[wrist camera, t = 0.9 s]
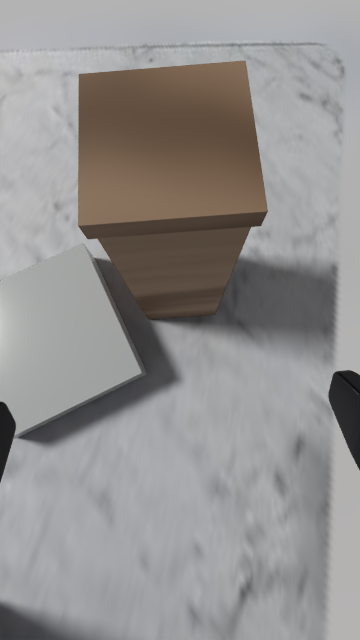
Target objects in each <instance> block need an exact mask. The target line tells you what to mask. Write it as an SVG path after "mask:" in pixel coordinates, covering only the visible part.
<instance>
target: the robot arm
mask: <svg viewBox="0 0 360 640" xmlns="http://www.w3.org/2000/svg"><path fill="white" fill-rule="evenodd" d="M329 401H330V404H331V407H332V409H333V411H334V414H335V416H336V419H337V421H338V423H339V426H340V428H341V431H342V433H343V436H344V438H345V440H346V443H347V445H348V448H349V450H350V452H351V454H352V456H353V458H354V460H355V462H356V464H357V466H358V468H359V470H360V375H359V374H357V373H355V372H353V371H350V370H346V371H337V372H335V373H334V374H333V377H332V381H331V385H330V389H329ZM15 431H16V422H15V419H14V418H13V416H12V414H11V412H10V410H9V408H8V406H7V405H6V403H4V402H2V401H0V482H1V479H2V476H3V472H4V469H5V465H6V462H7V459H8V455H9V452H10V448H11V445H12V441H13V438H14V434H15Z"/></svg>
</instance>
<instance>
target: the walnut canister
mask: <svg viewBox="0 0 360 640" xmlns="http://www.w3.org/2000/svg"><path fill="white" fill-rule="evenodd" d="M267 212H268V210H267V203H266V196H265V189H264V182H263V176H262V169H261V162H260V155H259V148H258V142H257V135H256V128H255V121H254V114H253V108H252V101H251V94H250V87H249V80H248V74H247V67H246V61H234V62H222V63H210V64H197V65H185V66H173V67H161V68H148V69H136V70H124V71H111V72H99V73H87V74H79V167H78V226H79V228H80V229H81V230H82V232H83V233H84V235H85V236H86V238H87V239H97V238H98V240H99V242H100V243H101V245H102V246H103V248H104V250H105V251H106V253H107V254H108V256H109V258H110V259H111V261H112V262H113V264H114V266H115V267H116V269H117V270H118V272H119V274H120V275H121V277H122V278H123V280H124V282H125V283H126V285H127V286H128V288H129V290H130V291H131V293H132V294H133V296H134V298H135V299H136V301H137V302H138V304H139V305H140V307H141V309H142V310H143V312H144V313H145V315H146V317H147V318H148V319H160V318H174V317H187V316H201V315H215V313H216V311H217V308H218V306H219V303H220V301H221V298H222V296H223V294H224V291H225V289H226V286H227V284H228V281H229V279H230V277H231V274H232V272H233V269H234V267H235V264H236V262H237V260H238V257H239V255H240V252H241V250H242V247H243V245H244V243H245V240H246V238H247V235H248V233H249V231H250V228H251V227H255V226H261V225H262V222H263V220H264V218H265V216H266V214H267Z"/></svg>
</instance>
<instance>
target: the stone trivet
mask: <svg viewBox="0 0 360 640" xmlns="http://www.w3.org/2000/svg"><path fill="white" fill-rule="evenodd" d="M146 374H147V372H146V370H145V368H144V366H143V364H142V361H141V359H140V357H139V355H138V353H137V350H136V348H135V346H134V344H133V342H132V339H131V337H130V335H129V333H128V331H127V328H126V326H125V324H124V322H123V320H122V317H121V315H120V313H119V311H118V309H117V306H116V304H115V302H114V300H113V298H112V296H111V293H110V291H109V289H108V287H107V285H106V282H105V280H104V278H103V276H102V274H101V271H100V269H99V267H98V265H97V263H96V260H95V258H94V257H93V255H92V254H91V253H90V251H89V250H88V249H87V247H86V246H85V245H84V243H82V244H80V245H78V246H75V247H73V248H71V249H69V250H66V251H64V252H62V253H60V254H58V255H55V256H53V257H51V258H49V259H46V260H44V261H42V262H40V263H38V264H35V265H33V266H31V267H29V268H26V269H24V270H22V271H20V272H18V273H15V274H13V275H11V276H9V277H6V278H4V279H2V280H0V401H2V402H4V403H6V405H7V406H8V408H9V410H10V412H11V414H12V416H13V418H14V419H15V422H16V431H15V434H14V438H13V439H16V438H18V437H20V436H22V435H24V434H26V433H28V432H30V431H32V430H34V429H36V428H38V427H40V426H42V425H45V424H47V423H49V422H51V421H53V420H55V419H57V418H59V417H61V416H63V415H65V414H67V413H69V412H71V411H73V410H75V409H77V408H79V407H81V406H83V405H85V404H87V403H89V402H91V401H93V400H95V399H97V398H99V397H101V396H103V395H105V394H107V393H109V392H112V391H114V390H116V389H118V388H120V387H122V386H124V385H126V384H128V383H130V382H132V381H134V380H136V379H138V378H140V377H142V376H144V375H146Z"/></svg>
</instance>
